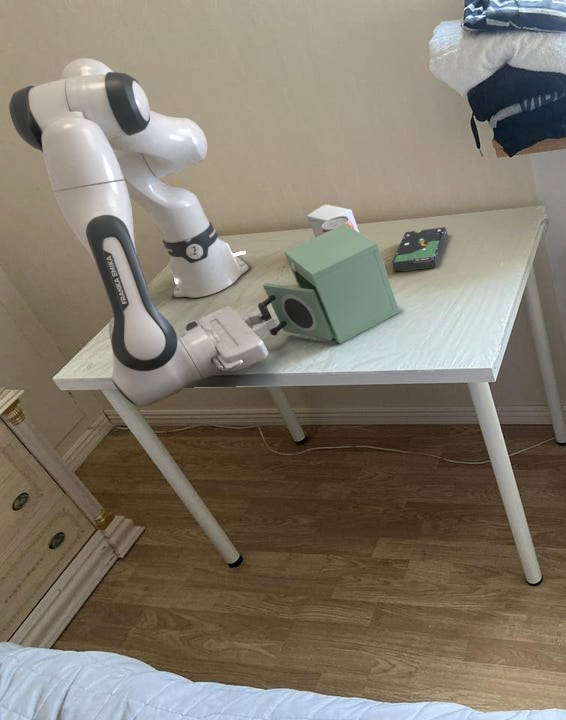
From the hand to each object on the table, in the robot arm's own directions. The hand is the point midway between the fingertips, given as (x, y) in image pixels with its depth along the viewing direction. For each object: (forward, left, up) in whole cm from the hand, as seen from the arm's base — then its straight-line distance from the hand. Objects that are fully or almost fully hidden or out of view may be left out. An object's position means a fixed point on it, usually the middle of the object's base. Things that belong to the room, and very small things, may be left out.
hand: (271, 318), depth 138 cm
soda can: (-20, +21, -7) cm, 29 cm away
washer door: (+3, +4, -6) cm, 7 cm away
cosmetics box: (-34, +22, -7) cm, 41 cm away
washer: (-1, +16, -7) cm, 17 cm away
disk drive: (-16, +37, -7) cm, 41 cm away
